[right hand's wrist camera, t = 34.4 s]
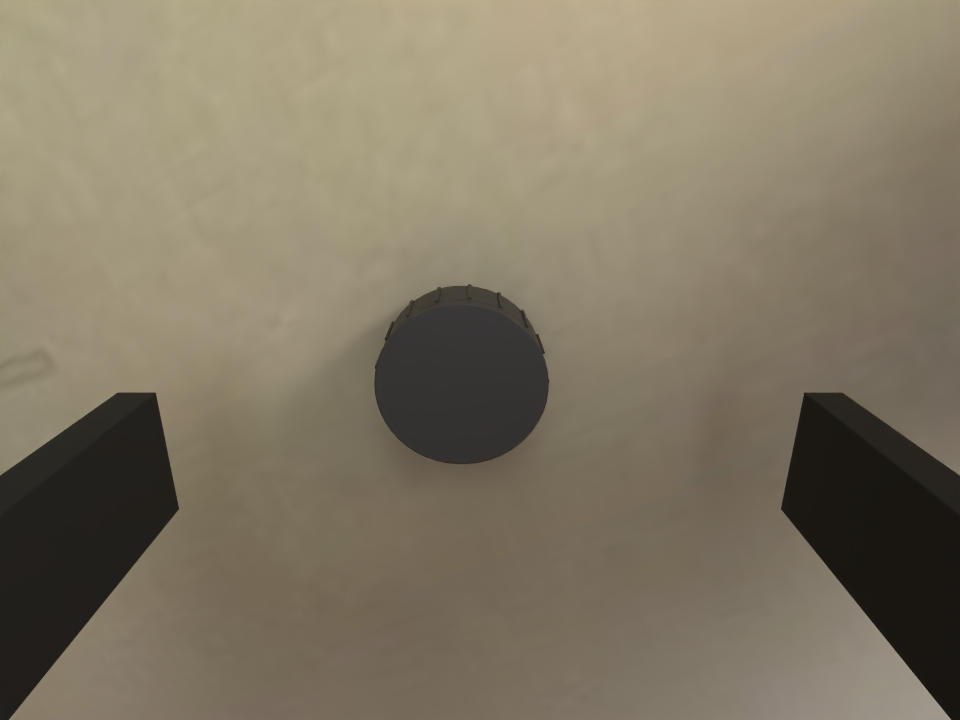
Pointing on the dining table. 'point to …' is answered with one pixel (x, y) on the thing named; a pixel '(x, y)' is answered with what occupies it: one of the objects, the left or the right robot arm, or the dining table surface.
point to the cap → (461, 376)
